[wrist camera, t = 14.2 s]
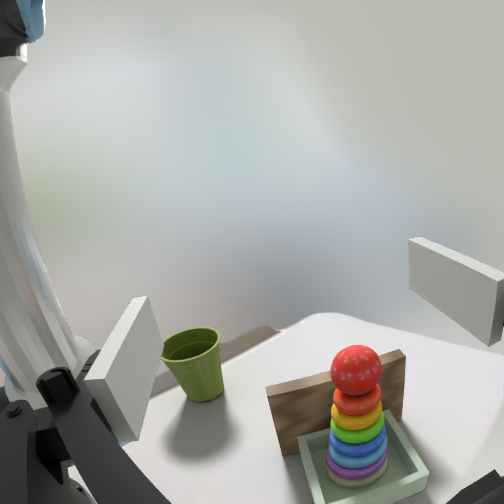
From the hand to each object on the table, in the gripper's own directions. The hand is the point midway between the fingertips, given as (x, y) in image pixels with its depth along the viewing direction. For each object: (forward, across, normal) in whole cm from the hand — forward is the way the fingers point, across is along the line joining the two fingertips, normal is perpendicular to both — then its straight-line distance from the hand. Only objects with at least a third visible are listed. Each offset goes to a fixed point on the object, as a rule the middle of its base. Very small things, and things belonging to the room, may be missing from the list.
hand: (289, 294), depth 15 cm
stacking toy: (+9, +7, -31) cm, 33 cm away
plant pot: (+36, -14, -32) cm, 50 cm away
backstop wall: (+17, +7, -32) cm, 36 cm away
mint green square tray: (+9, +7, -31) cm, 33 cm away
